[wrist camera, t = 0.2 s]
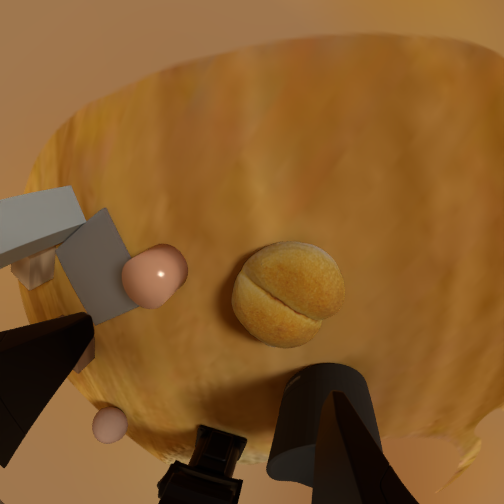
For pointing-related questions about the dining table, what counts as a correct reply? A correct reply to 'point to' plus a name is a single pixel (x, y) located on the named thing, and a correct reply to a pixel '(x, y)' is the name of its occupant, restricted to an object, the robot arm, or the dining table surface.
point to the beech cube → (35, 268)
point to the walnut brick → (85, 356)
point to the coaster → (97, 267)
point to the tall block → (37, 222)
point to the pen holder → (313, 418)
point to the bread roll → (287, 293)
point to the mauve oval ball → (109, 425)
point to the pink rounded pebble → (154, 275)
